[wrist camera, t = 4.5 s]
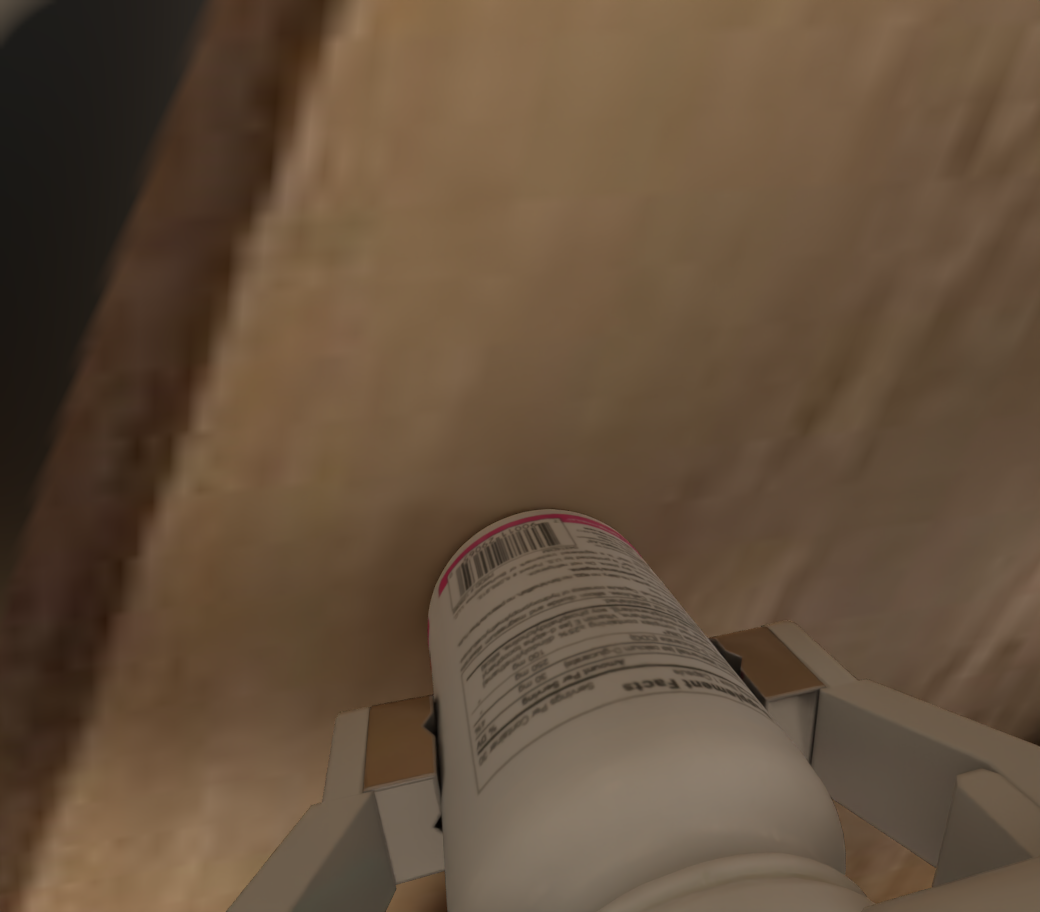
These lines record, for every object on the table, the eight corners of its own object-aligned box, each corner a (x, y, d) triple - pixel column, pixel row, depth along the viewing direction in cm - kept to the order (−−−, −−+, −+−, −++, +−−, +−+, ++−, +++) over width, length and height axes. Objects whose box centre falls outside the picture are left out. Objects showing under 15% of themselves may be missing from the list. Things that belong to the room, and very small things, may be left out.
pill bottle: (606, 704, 13) (890, 1330, 6) (405, 685, 12) (403, 1454, 4) (674, 522, 12) (1167, 1001, 4) (457, 482, 11) (588, 1046, 3)
